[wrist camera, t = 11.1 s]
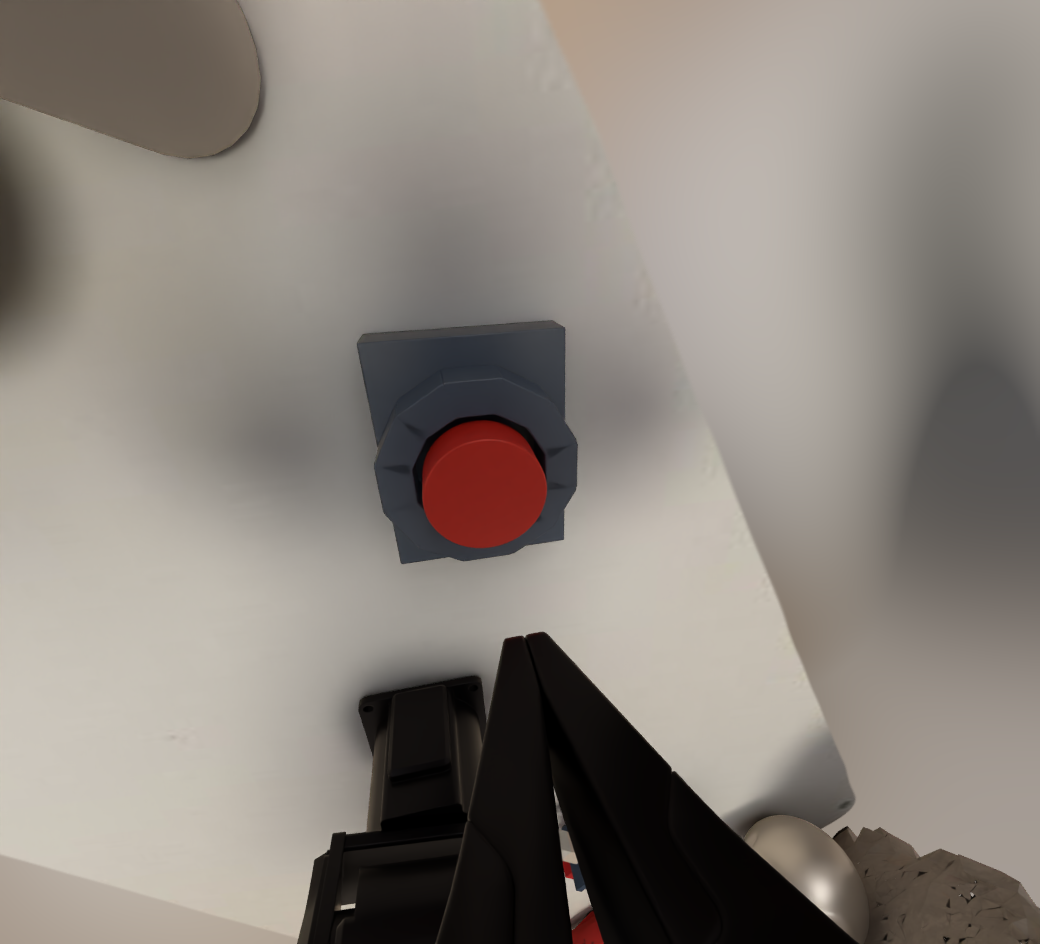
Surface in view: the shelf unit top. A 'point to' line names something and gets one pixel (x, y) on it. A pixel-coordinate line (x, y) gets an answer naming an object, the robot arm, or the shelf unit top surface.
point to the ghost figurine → (814, 869)
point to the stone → (936, 895)
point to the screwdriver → (587, 931)
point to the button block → (466, 418)
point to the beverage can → (135, 69)
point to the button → (482, 484)
